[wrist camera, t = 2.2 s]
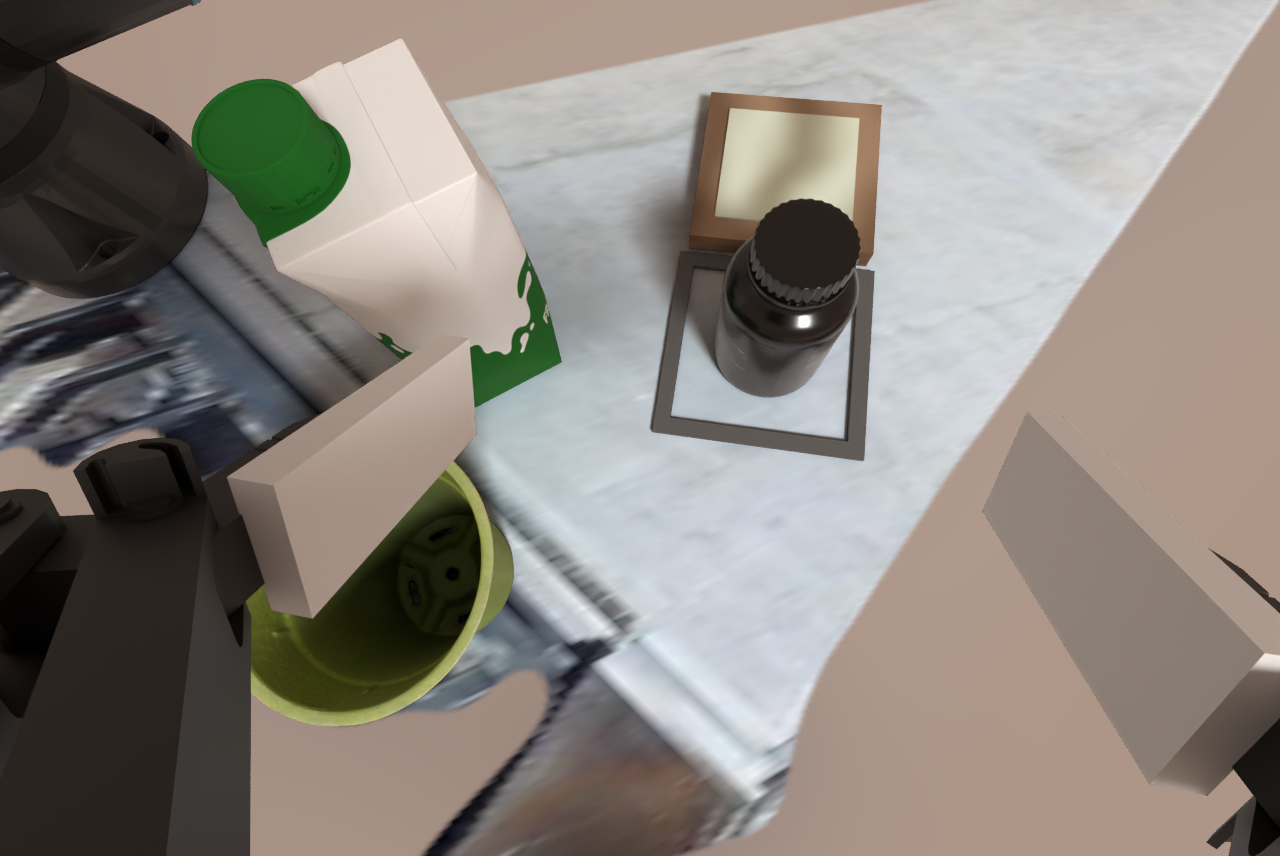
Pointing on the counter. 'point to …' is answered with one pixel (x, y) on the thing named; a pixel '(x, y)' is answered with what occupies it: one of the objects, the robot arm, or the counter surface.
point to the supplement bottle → (787, 297)
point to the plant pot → (387, 616)
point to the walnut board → (784, 165)
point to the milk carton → (383, 210)
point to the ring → (753, 436)
